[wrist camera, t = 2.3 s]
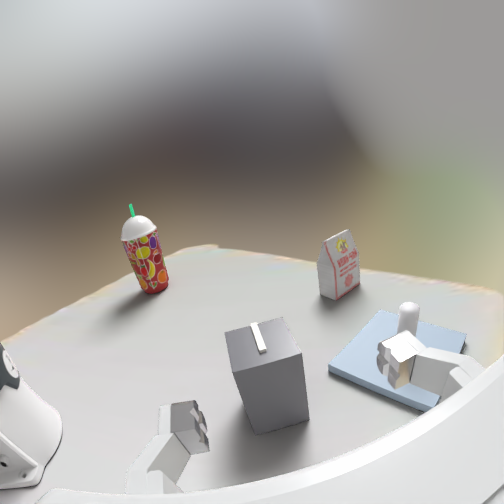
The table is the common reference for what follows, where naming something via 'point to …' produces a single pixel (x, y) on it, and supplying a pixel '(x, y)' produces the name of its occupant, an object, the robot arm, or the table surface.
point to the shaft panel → (365, 353)
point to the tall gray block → (269, 375)
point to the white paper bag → (338, 266)
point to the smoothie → (145, 253)
